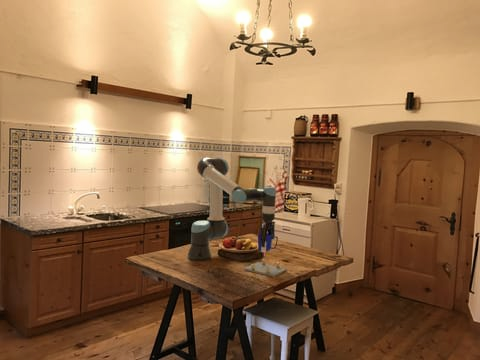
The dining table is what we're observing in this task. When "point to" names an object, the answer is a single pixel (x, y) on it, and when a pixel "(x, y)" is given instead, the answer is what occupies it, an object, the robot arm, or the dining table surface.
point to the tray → (265, 269)
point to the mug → (268, 242)
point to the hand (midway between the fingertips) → (266, 250)
